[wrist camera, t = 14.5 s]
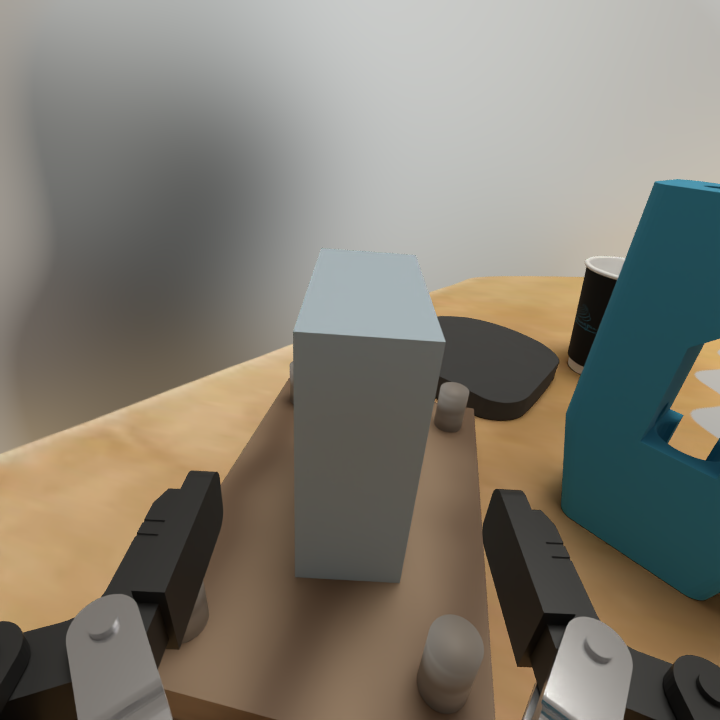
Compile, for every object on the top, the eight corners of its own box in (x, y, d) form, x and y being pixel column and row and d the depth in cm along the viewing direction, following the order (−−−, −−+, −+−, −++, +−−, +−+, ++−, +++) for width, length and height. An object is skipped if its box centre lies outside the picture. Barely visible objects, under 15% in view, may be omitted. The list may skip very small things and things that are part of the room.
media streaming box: (508, 436, 35) (518, 407, 34) (369, 370, 43) (371, 343, 42) (562, 371, 46) (571, 346, 44) (442, 327, 53) (446, 304, 52)
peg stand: (115, 702, 18) (81, 628, 15) (289, 402, 37) (288, 346, 34) (483, 806, 16) (522, 743, 13) (467, 433, 35) (481, 375, 32)
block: (531, 492, 30) (648, 182, 20) (565, 461, 33) (681, 178, 23) (743, 634, 22) (1104, 247, 12) (761, 577, 25) (1064, 229, 15)
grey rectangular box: (294, 577, 20) (293, 331, 14) (316, 439, 29) (321, 248, 23) (399, 583, 21) (445, 342, 14) (389, 443, 29) (415, 255, 23)
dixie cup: (538, 363, 46) (570, 262, 41) (573, 344, 51) (606, 251, 45) (614, 398, 41) (663, 288, 36) (644, 373, 46) (691, 273, 40)
